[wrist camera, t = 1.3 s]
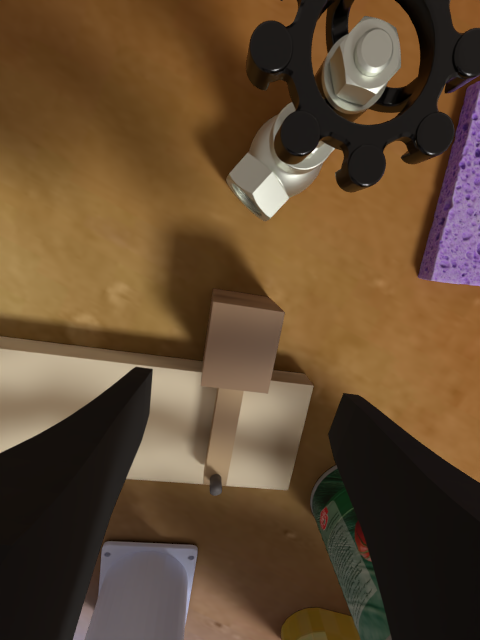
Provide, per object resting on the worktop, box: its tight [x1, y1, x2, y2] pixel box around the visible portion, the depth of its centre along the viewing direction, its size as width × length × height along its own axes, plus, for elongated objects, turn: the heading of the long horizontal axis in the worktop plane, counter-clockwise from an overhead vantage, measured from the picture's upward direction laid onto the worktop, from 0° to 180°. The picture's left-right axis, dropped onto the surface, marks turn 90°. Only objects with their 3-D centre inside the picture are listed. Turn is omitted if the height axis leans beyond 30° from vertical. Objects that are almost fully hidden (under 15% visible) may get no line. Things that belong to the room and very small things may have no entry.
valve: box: [226, 0, 480, 221], centre depth 13 cm, size 7×7×12 cm
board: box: [0, 336, 314, 490], centre depth 21 cm, size 9×26×2 cm, turn 80°
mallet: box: [201, 288, 285, 496], centre depth 20 cm, size 13×4×5 cm, turn 170°
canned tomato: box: [310, 465, 392, 640], centre depth 21 cm, size 8×8×11 cm
